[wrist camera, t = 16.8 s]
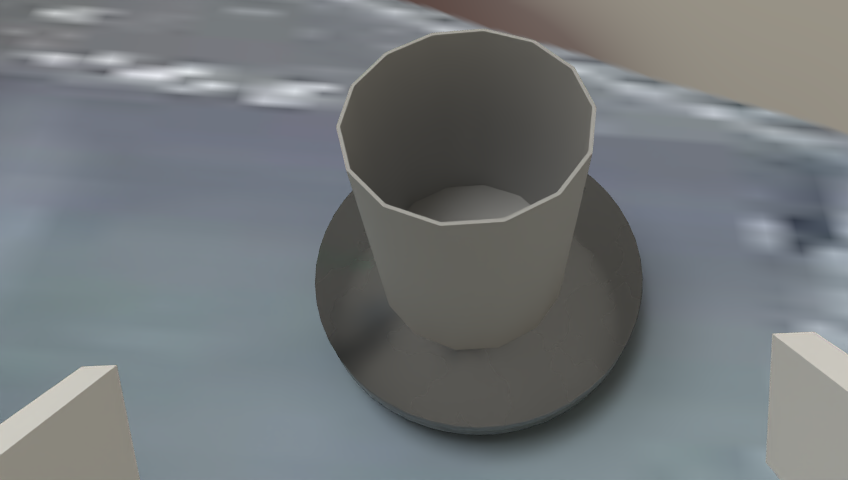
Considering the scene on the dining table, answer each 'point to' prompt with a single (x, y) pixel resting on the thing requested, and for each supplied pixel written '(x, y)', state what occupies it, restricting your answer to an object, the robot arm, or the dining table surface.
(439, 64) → the cup
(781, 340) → the robot arm
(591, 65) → the dining table surface
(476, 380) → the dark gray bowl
